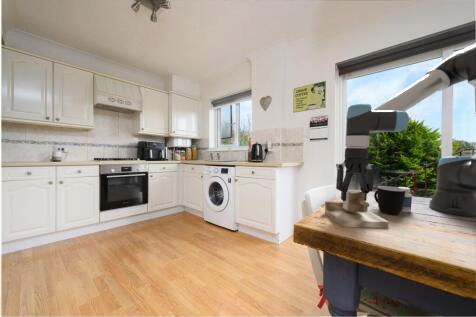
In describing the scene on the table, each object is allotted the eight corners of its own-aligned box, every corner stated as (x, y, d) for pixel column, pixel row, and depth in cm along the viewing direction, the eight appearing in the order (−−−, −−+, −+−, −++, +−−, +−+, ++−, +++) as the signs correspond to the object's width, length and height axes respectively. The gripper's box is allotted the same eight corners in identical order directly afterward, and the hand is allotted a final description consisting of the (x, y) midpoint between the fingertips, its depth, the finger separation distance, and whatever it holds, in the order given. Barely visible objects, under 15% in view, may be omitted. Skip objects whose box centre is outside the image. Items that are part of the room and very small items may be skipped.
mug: (409, 216, 79) (411, 190, 78) (389, 217, 77) (391, 191, 77) (382, 206, 91) (384, 184, 90) (365, 207, 89) (366, 184, 88)
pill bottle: (414, 212, 83) (416, 189, 82) (401, 212, 83) (402, 189, 82) (403, 208, 88) (405, 186, 87) (391, 208, 88) (392, 186, 87)
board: (364, 213, 81) (365, 201, 80) (388, 227, 68) (389, 213, 67) (324, 213, 81) (325, 201, 80) (340, 226, 68) (341, 212, 68)
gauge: (355, 207, 78) (357, 190, 78) (374, 218, 68) (375, 197, 67) (343, 207, 78) (343, 189, 78) (359, 217, 68) (360, 197, 67)
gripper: (374, 147, 78) (370, 206, 79) (327, 147, 78) (324, 205, 80) (388, 148, 70) (384, 213, 72) (336, 147, 70) (333, 212, 72)
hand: (353, 209), depth 76 cm, fingers closed on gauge, 5 cm apart
